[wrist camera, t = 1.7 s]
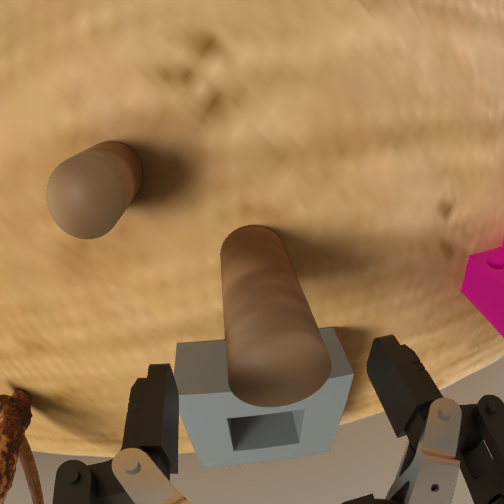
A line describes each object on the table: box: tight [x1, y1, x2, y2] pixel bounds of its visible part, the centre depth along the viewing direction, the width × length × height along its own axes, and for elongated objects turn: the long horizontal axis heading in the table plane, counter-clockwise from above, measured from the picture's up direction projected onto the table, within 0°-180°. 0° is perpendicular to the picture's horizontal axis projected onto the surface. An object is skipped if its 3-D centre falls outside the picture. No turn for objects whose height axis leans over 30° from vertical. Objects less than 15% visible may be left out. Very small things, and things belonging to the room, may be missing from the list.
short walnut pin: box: [46, 141, 143, 239], centre depth 15 cm, size 4×4×4 cm
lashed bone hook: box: [0, 390, 44, 504], centre depth 18 cm, size 9×5×18 cm, turn 16°
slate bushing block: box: [174, 327, 354, 467], centre depth 24 cm, size 12×12×5 cm
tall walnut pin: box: [220, 225, 332, 407], centre depth 16 cm, size 4×4×10 cm
